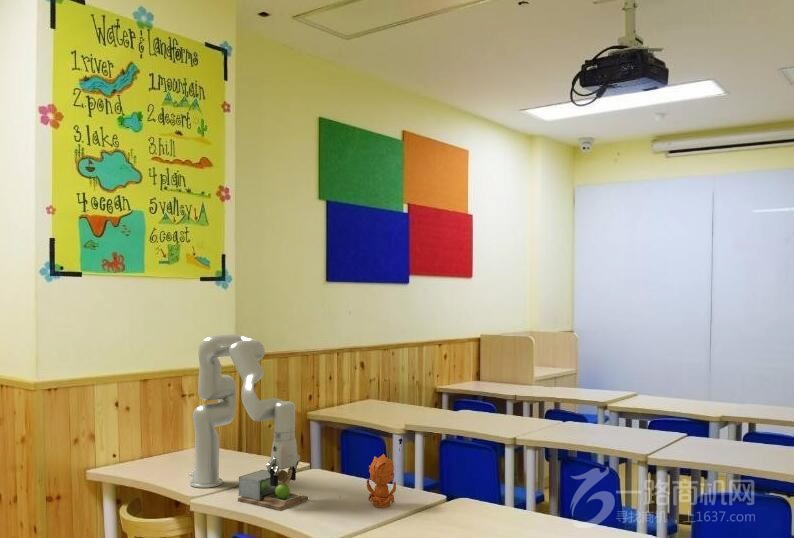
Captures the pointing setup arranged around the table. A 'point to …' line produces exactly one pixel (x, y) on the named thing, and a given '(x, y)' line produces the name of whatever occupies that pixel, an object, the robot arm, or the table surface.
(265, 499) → the board
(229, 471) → the table surface
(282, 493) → the snail figurine
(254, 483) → the block
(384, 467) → the orange figurine
